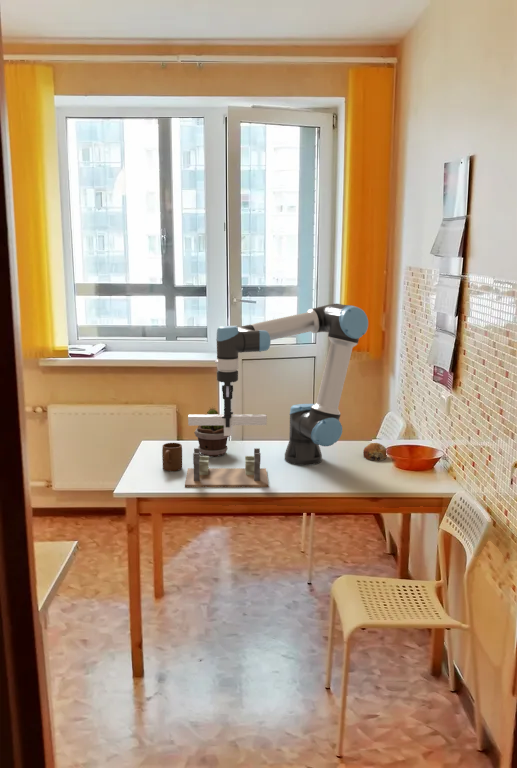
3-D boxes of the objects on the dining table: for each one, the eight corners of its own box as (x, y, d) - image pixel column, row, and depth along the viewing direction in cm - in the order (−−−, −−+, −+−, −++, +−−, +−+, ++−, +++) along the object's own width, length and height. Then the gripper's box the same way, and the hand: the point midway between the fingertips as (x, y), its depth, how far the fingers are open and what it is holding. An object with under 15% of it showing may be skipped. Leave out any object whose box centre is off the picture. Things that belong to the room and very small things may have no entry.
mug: (175, 476, 248) (175, 452, 246) (156, 474, 249) (155, 450, 247) (184, 466, 260) (184, 443, 258) (166, 464, 261) (165, 441, 259)
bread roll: (388, 466, 275) (392, 447, 277) (380, 461, 267) (384, 442, 268) (366, 461, 280) (370, 443, 282) (357, 457, 272) (362, 438, 273)
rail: (266, 422, 240) (266, 414, 239) (266, 425, 237) (266, 416, 236) (188, 423, 239) (188, 414, 238) (188, 425, 236) (188, 416, 235)
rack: (265, 470, 255) (266, 440, 253) (268, 487, 238) (269, 455, 235) (187, 470, 254) (187, 440, 252) (184, 487, 236) (184, 455, 234)
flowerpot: (230, 459, 269) (230, 411, 265) (192, 458, 269) (192, 411, 265) (232, 449, 283) (232, 403, 279) (196, 448, 283) (196, 402, 279)
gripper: (217, 365, 242) (217, 428, 246) (216, 374, 226) (216, 440, 230) (237, 365, 242) (237, 427, 247) (238, 374, 226) (238, 440, 231)
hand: (227, 433), depth 238 cm, fingers closed on rail, 3 cm apart
